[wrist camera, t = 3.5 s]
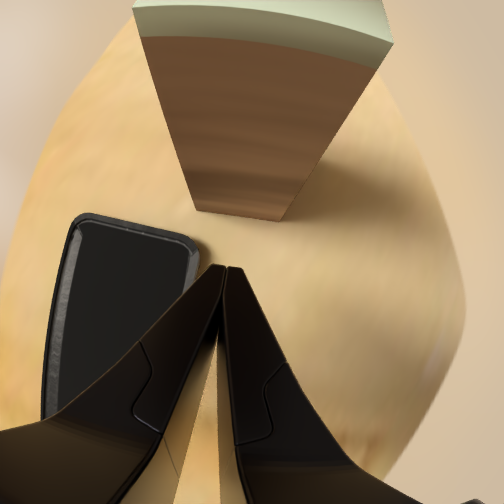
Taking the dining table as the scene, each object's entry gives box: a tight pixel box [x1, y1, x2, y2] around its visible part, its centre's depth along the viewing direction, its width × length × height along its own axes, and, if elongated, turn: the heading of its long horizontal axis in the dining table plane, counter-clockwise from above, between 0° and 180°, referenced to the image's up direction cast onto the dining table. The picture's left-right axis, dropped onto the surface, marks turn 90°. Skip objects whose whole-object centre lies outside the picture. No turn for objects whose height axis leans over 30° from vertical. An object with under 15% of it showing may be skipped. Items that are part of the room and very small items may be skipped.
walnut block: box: [132, 0, 394, 222], centre depth 11 cm, size 4×4×13 cm
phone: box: [41, 213, 200, 421], centre depth 15 cm, size 8×1×15 cm
